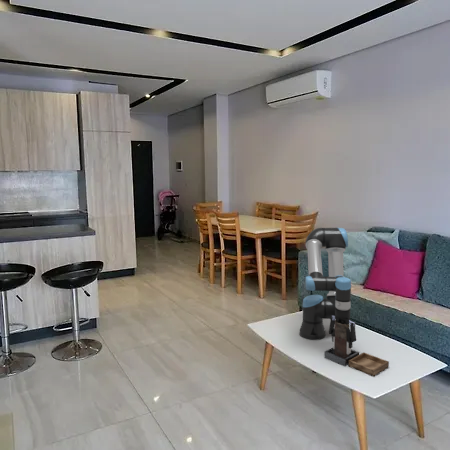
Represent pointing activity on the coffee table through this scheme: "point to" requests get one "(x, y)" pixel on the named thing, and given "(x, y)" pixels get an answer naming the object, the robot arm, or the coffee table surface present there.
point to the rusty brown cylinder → (341, 339)
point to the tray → (368, 364)
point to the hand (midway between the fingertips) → (341, 350)
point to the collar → (342, 361)
